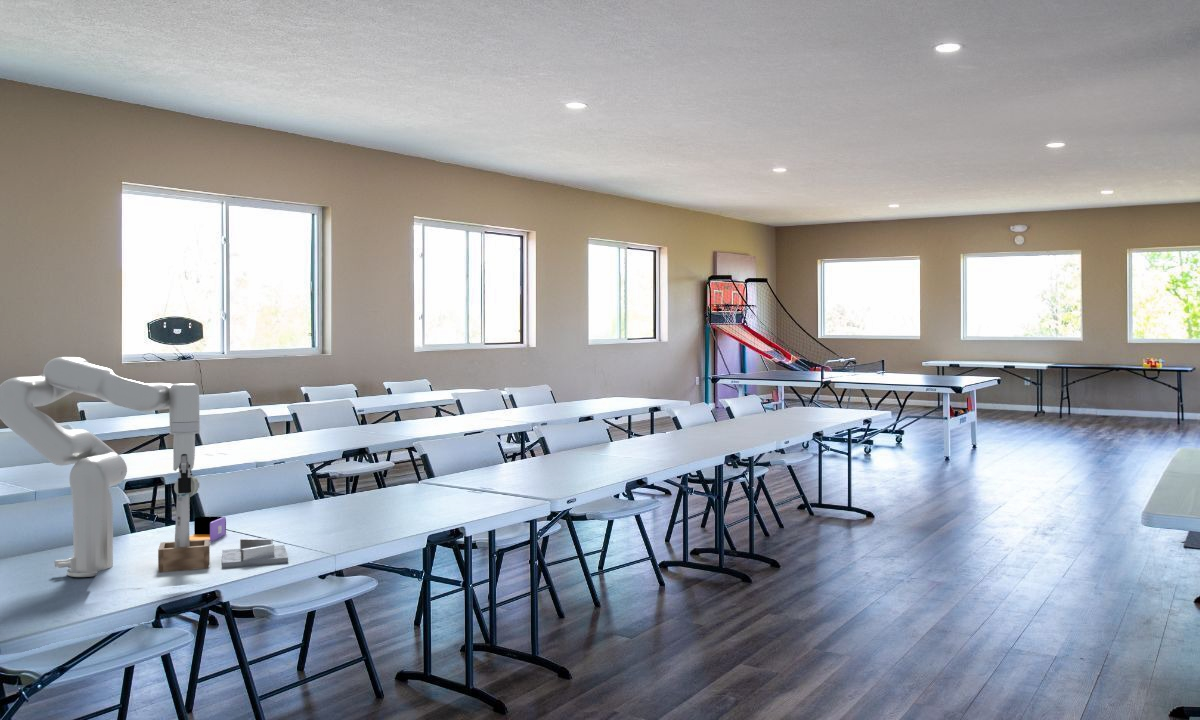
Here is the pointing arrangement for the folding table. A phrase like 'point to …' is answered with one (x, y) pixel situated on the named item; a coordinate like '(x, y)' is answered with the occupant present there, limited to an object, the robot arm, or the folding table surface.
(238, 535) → the folding table surface
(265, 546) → the v block
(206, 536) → the dollhouse room
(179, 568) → the open wooden box
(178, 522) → the handheld massager
